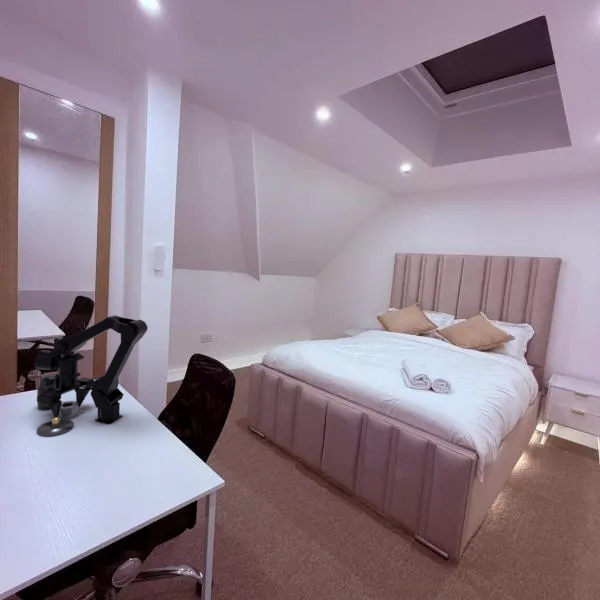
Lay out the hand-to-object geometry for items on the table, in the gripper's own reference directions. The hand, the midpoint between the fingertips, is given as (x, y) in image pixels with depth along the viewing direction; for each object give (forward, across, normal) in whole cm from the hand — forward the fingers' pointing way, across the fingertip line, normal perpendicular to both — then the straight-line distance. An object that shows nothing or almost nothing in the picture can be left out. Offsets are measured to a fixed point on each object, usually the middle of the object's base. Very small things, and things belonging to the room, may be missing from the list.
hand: (67, 412), depth 120 cm
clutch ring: (+1, 0, 0) cm, 1 cm away
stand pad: (+2, 0, 0) cm, 2 cm away
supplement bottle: (+2, -3, -12) cm, 12 cm away
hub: (+2, +9, +5) cm, 10 cm away
